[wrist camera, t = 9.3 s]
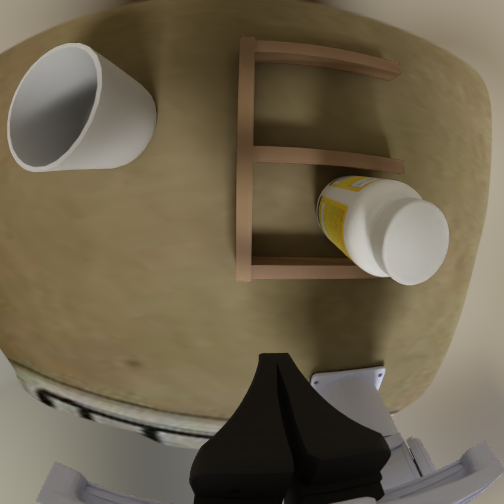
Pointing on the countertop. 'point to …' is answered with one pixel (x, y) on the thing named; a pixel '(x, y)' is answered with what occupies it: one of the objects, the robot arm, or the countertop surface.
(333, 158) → the rack
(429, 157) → the countertop surface
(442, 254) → the supplement bottle
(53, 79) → the cup
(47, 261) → the countertop surface
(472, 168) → the countertop surface
